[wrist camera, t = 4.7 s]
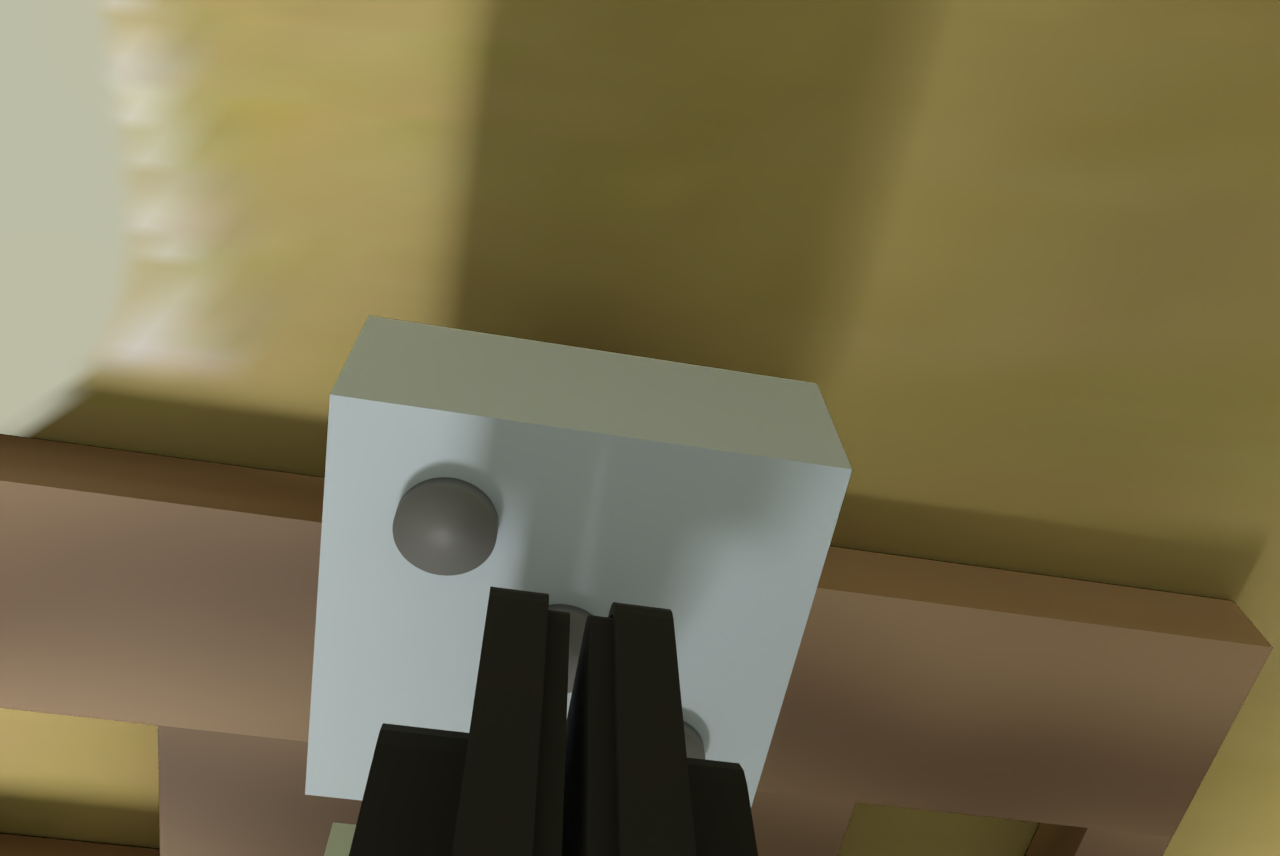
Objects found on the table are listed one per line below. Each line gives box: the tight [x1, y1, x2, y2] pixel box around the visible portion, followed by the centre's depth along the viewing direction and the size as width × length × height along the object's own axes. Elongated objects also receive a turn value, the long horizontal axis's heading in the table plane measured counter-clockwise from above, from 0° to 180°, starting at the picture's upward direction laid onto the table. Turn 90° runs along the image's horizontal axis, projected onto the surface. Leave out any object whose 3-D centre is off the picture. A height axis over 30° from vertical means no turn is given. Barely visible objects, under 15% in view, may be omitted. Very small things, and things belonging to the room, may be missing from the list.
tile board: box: [0, 434, 1273, 856], centre depth 19 cm, size 12×22×1 cm, turn 80°
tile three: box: [305, 315, 852, 807], centre depth 14 cm, size 5×5×4 cm
